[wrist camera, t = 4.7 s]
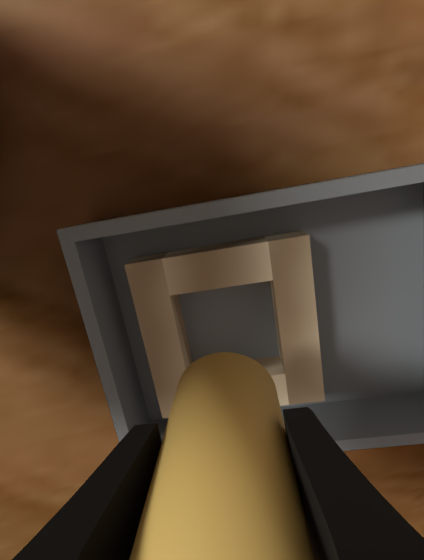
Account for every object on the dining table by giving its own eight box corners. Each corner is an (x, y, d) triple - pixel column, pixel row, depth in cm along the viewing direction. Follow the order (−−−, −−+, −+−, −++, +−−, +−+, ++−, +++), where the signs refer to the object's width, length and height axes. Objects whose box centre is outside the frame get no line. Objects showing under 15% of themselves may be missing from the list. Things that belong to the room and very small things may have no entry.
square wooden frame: (300, 230, 15) (309, 234, 13) (315, 380, 17) (325, 400, 15) (135, 257, 16) (124, 264, 14) (169, 397, 18) (162, 418, 16)
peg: (268, 344, 10) (423, 983, 2) (283, 432, 10) (434, 1131, 3) (166, 360, 10) (-63, 952, 2) (188, 444, 11) (78, 1091, 3)
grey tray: (430, 161, 14) (486, 153, 11) (430, 394, 17) (473, 439, 14) (90, 222, 16) (56, 229, 13) (144, 424, 19) (127, 470, 16)
